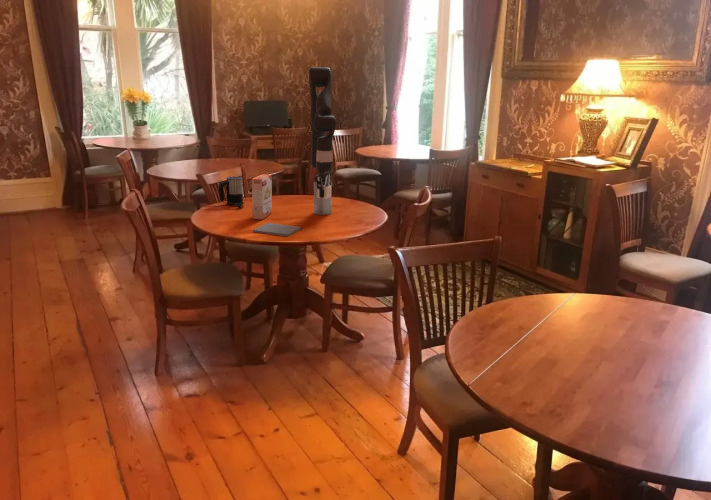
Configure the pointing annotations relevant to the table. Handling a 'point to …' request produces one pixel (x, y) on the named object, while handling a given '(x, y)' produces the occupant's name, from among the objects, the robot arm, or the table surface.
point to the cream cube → (325, 192)
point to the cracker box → (262, 196)
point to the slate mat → (277, 229)
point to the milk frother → (232, 191)
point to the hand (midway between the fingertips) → (324, 196)
